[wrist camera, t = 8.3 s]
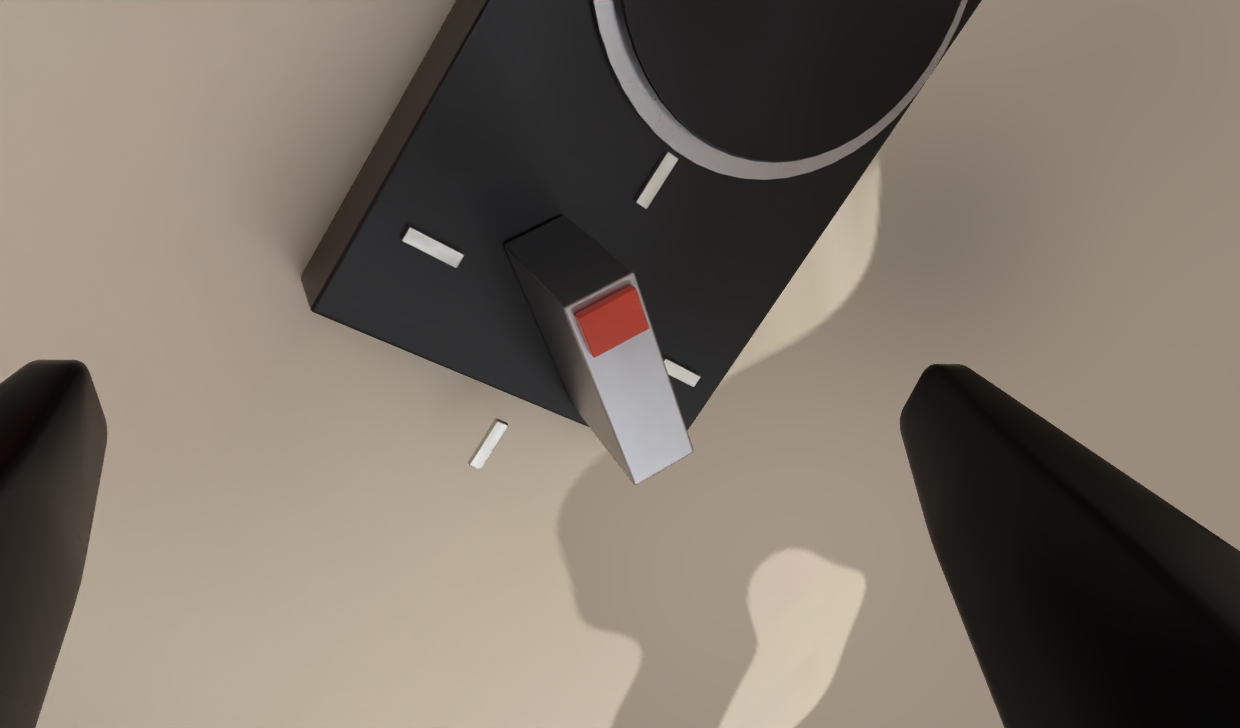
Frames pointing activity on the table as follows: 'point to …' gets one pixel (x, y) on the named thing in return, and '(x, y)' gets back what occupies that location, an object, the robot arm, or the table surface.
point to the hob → (555, 211)
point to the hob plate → (771, 74)
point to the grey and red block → (602, 345)
